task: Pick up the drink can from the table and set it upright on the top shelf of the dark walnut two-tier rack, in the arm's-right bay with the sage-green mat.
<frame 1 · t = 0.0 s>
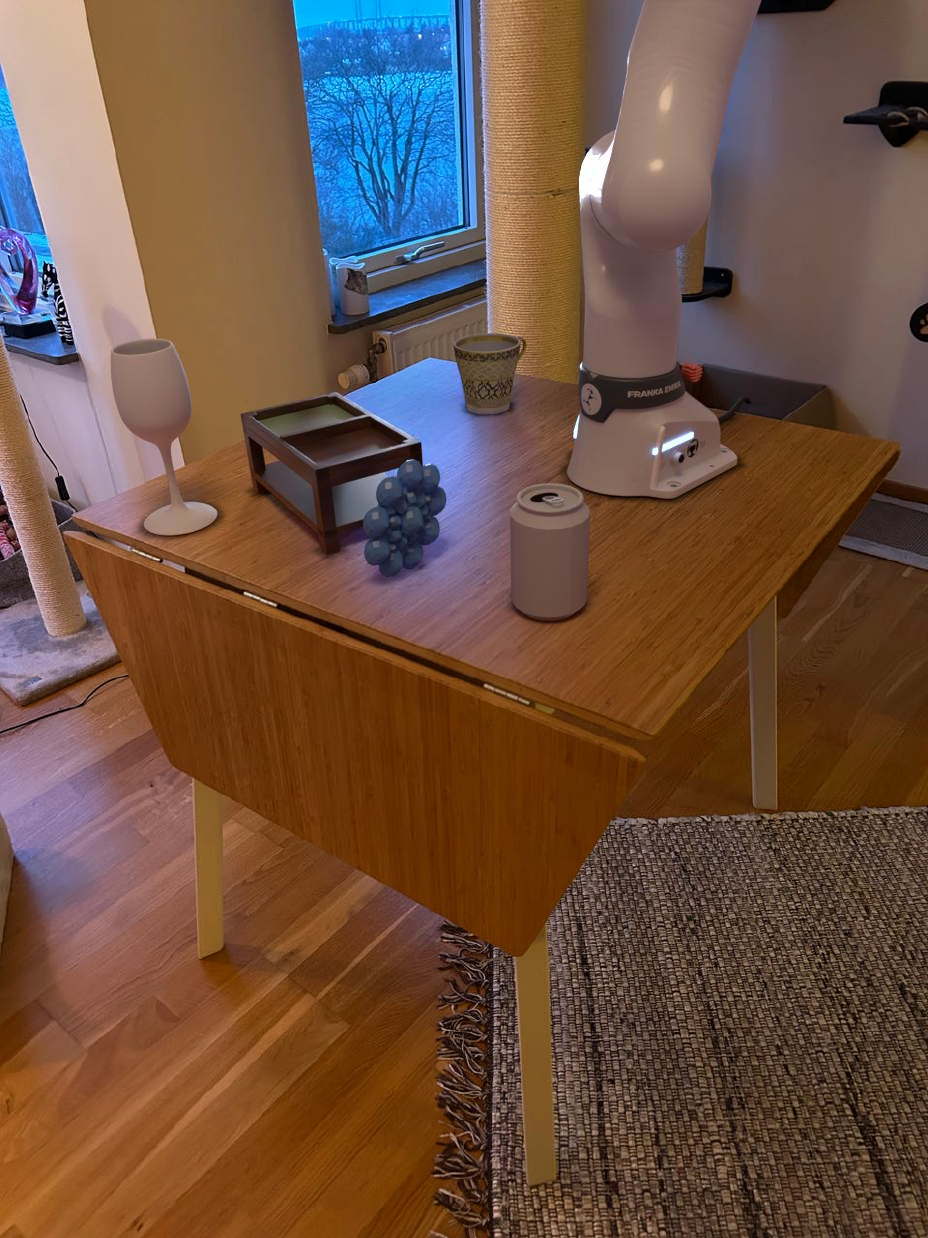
can: (548, 606, 91), on the table
rack: (336, 506, 113), on the table
grapes: (403, 567, 99), on the table
ceramic cup: (495, 406, 142), on the table
wineglass: (181, 521, 111), on the table
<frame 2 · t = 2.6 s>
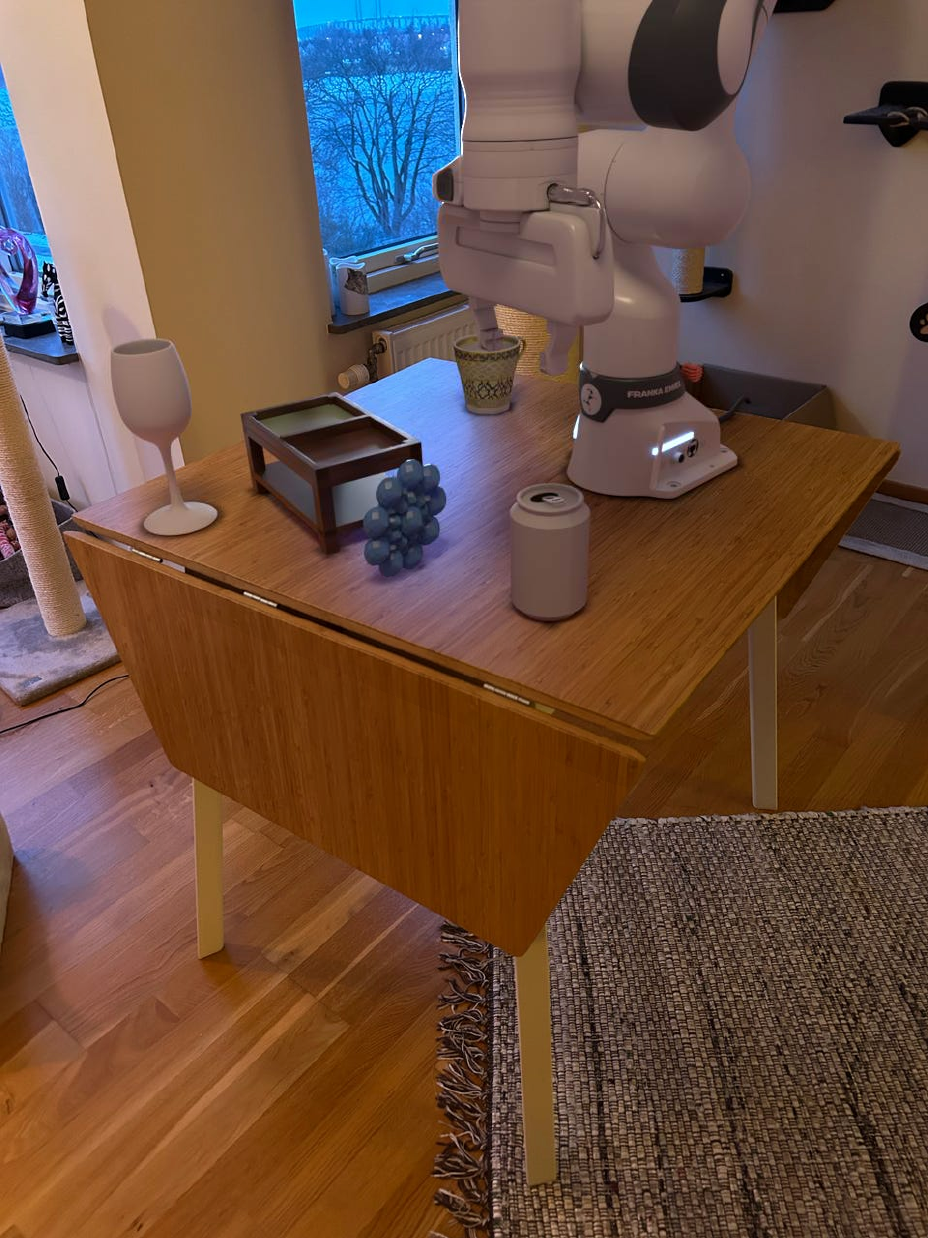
hand: (520, 361, 77), 25 cm above the table, tool pointing down, fingers open, 8 cm apart
nothing on the table moved.
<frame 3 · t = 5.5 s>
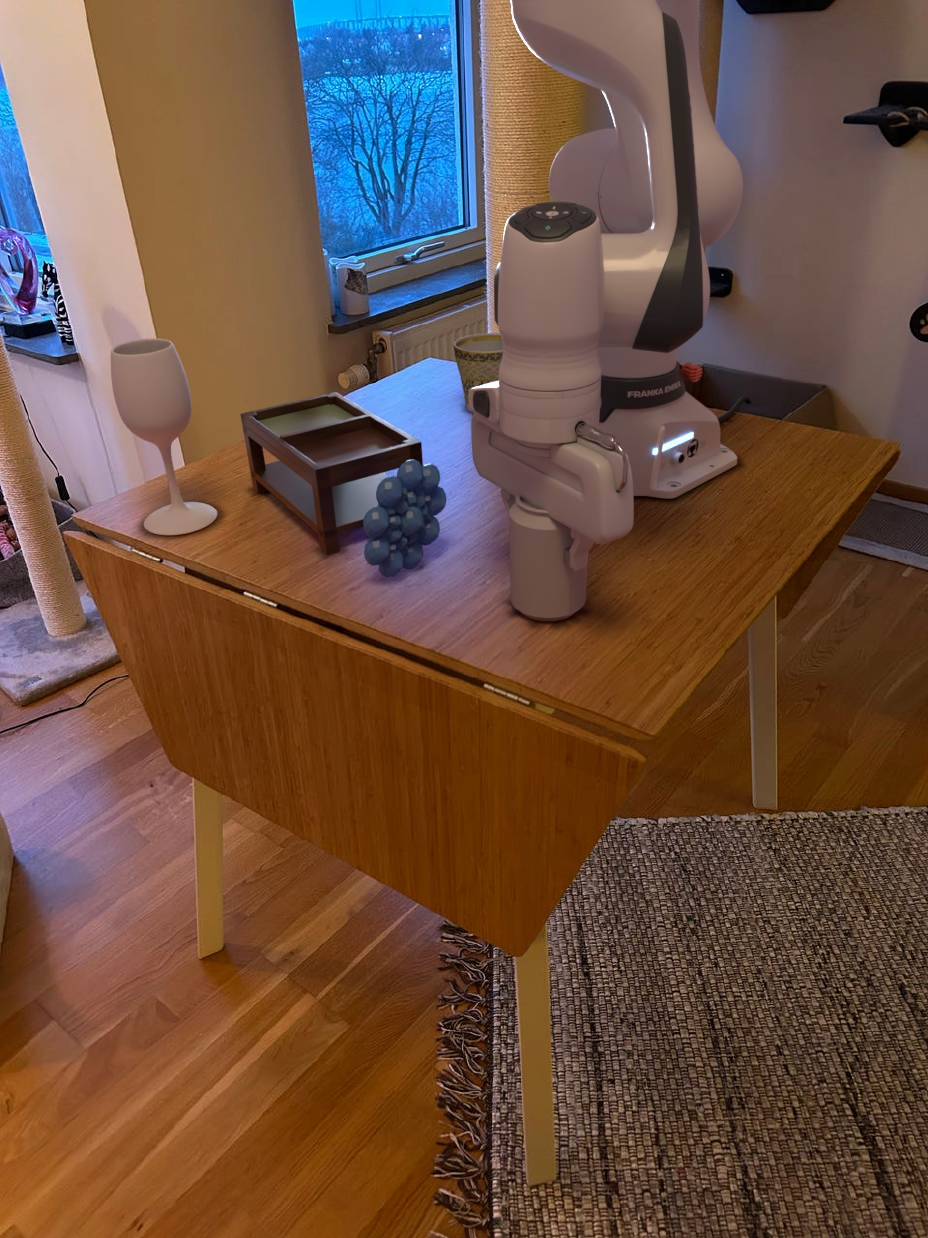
hand: (546, 548, 88), 6 cm above the table, tool pointing down, fingers closed on can, 7 cm apart
can: (547, 607, 91), on the table, touching gripper
everything else where it was.
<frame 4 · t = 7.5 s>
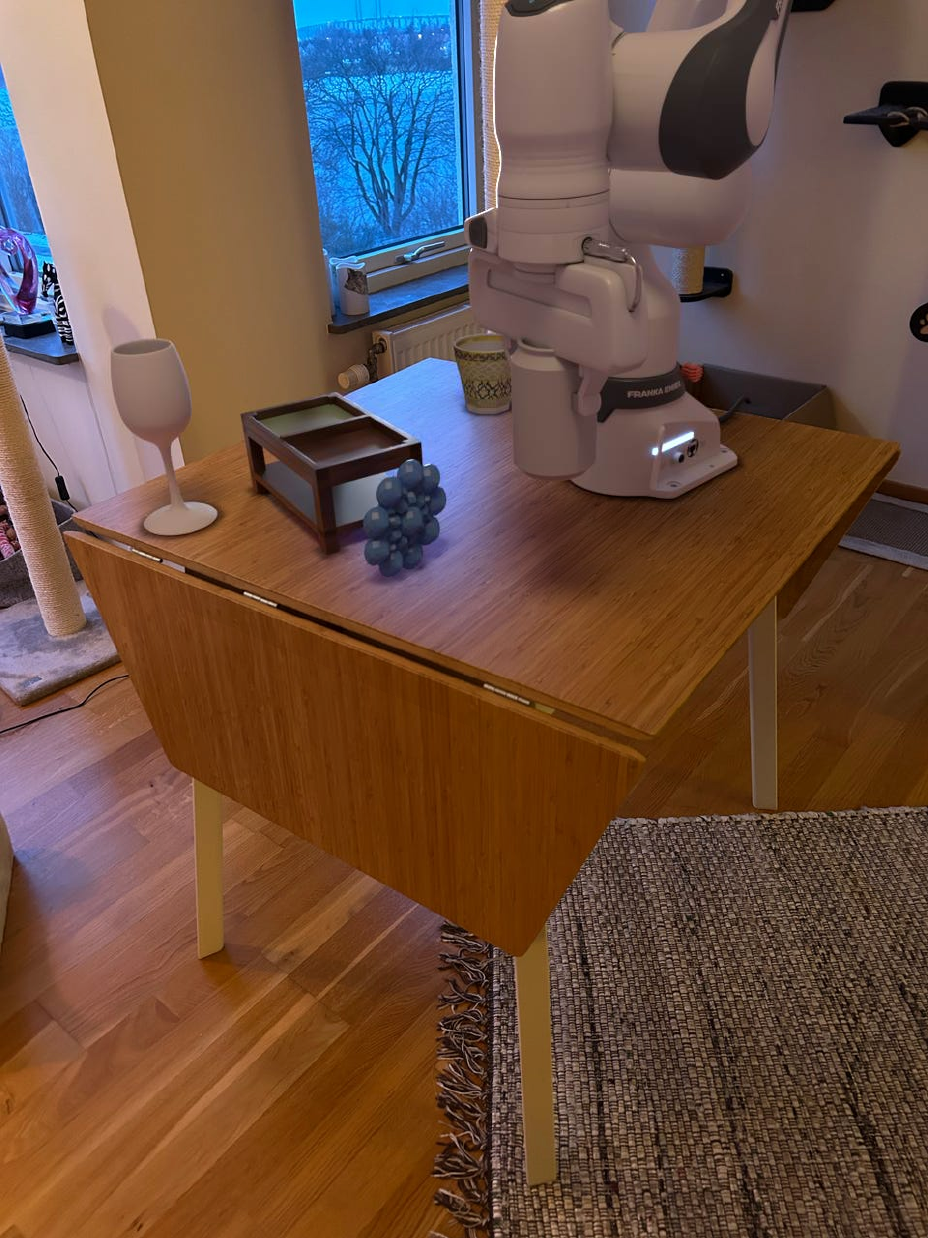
hand: (552, 398, 80), 21 cm above the table, tool pointing down, fingers closed on can, 7 cm apart
can: (554, 469, 84), point 14 cm above the table, touching gripper
everything else where it was.
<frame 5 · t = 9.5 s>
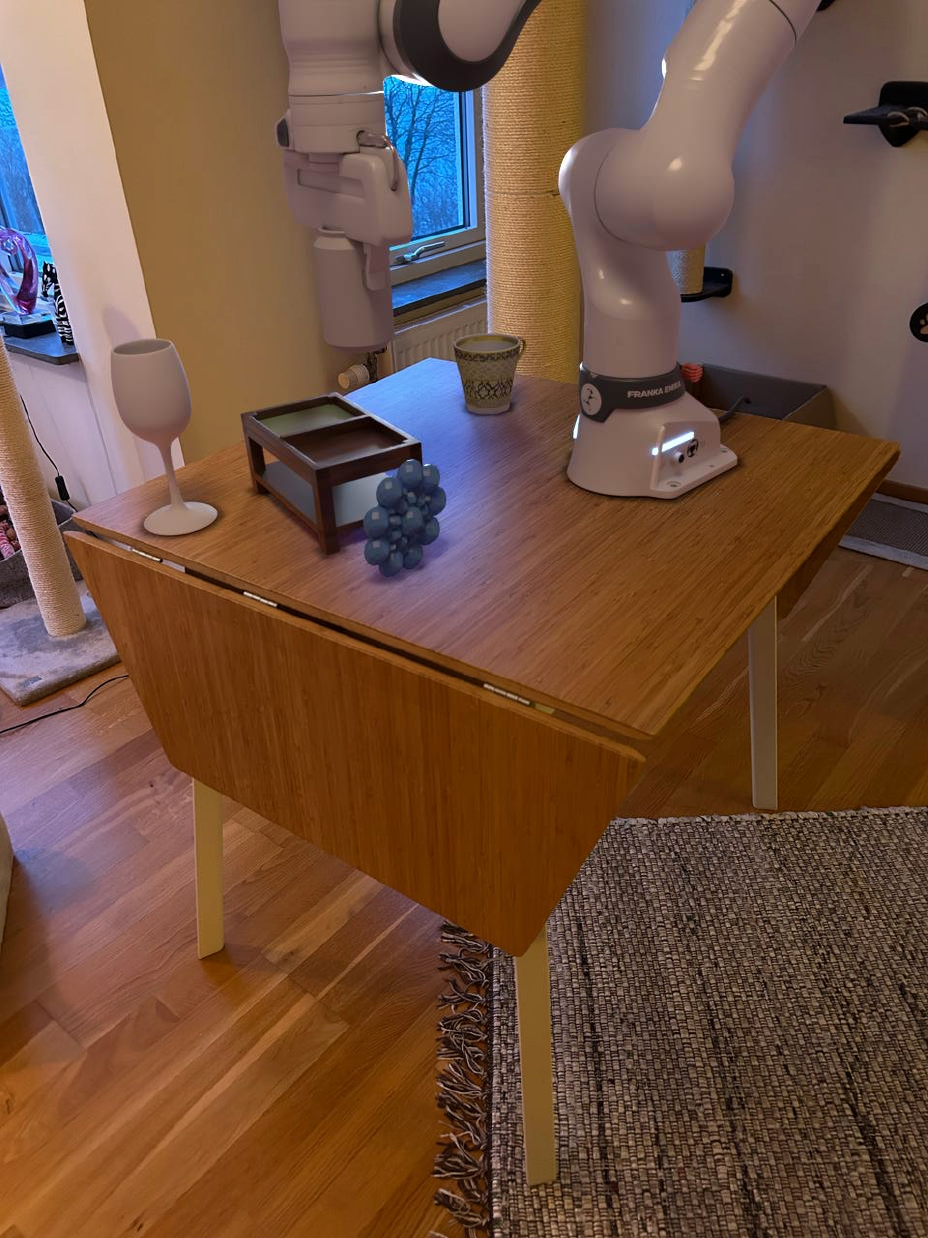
hand: (353, 281, 94), 27 cm above the table, tool pointing down, fingers closed on can, 7 cm apart
can: (360, 346, 97), point 21 cm above the table, touching gripper
everything else where it was.
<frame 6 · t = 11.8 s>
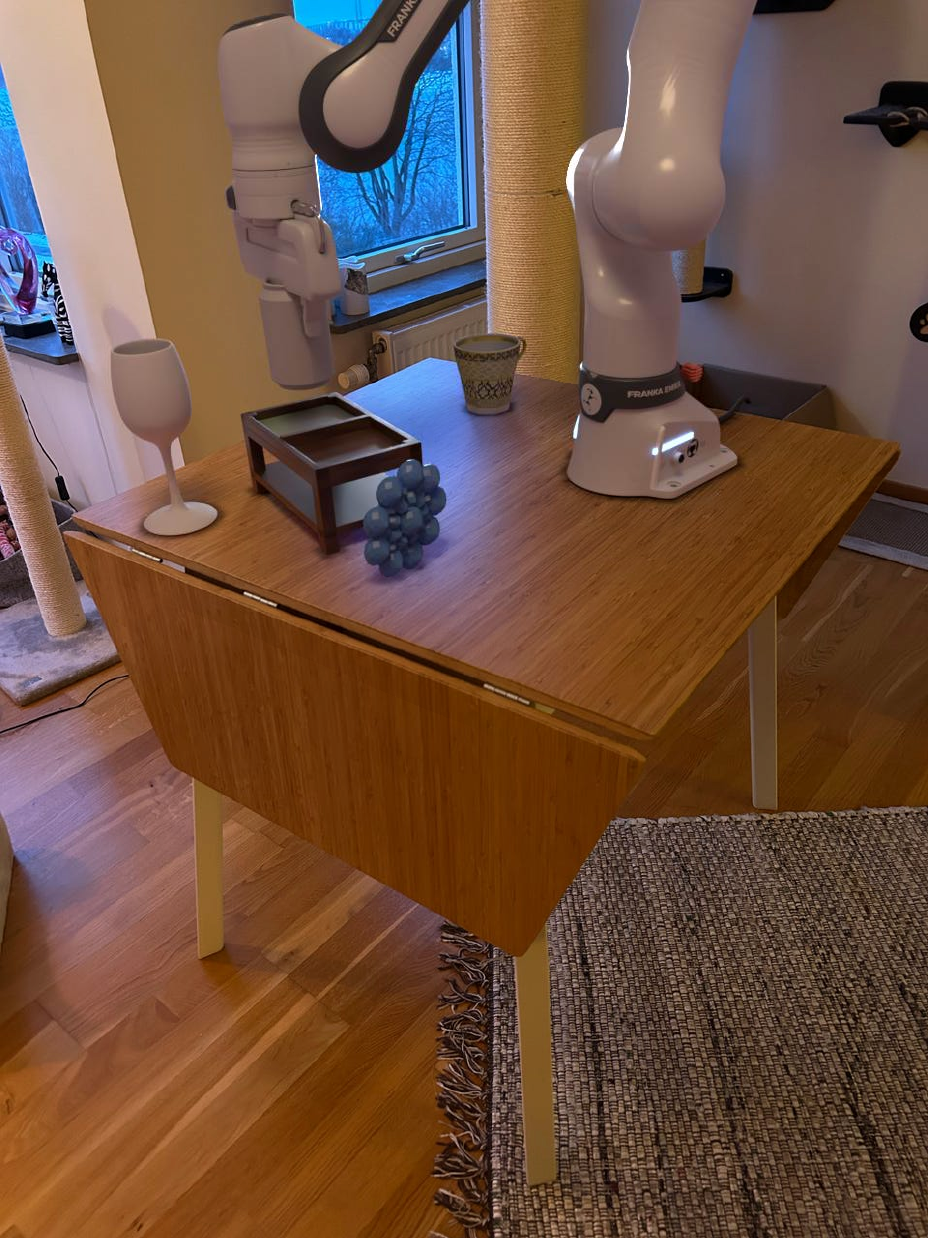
hand: (296, 326, 106), 21 cm above the table, tool pointing down, fingers closed on can, 7 cm apart
can: (304, 383, 109), point 14 cm above the table, touching gripper
everything else where it was.
when the fingers open (16 cm above the table, at t = 13.7 s): can stays where it is, resting on rack.
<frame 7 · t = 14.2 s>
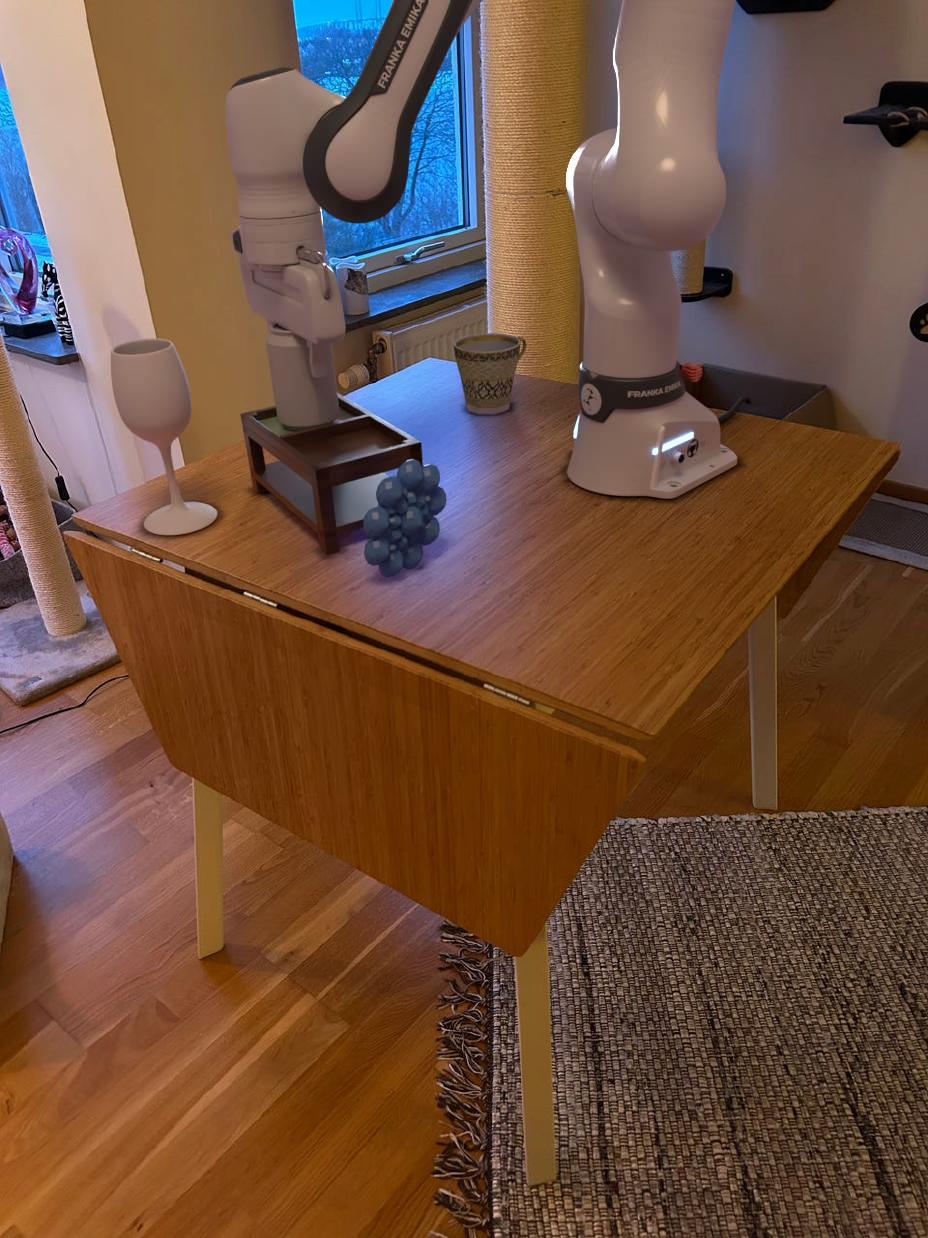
hand: (301, 365, 108), 16 cm above the table, tool pointing down, fingers open, 8 cm apart
can: (309, 423, 112), point 9 cm above the table, touching rack
everything else where it was.
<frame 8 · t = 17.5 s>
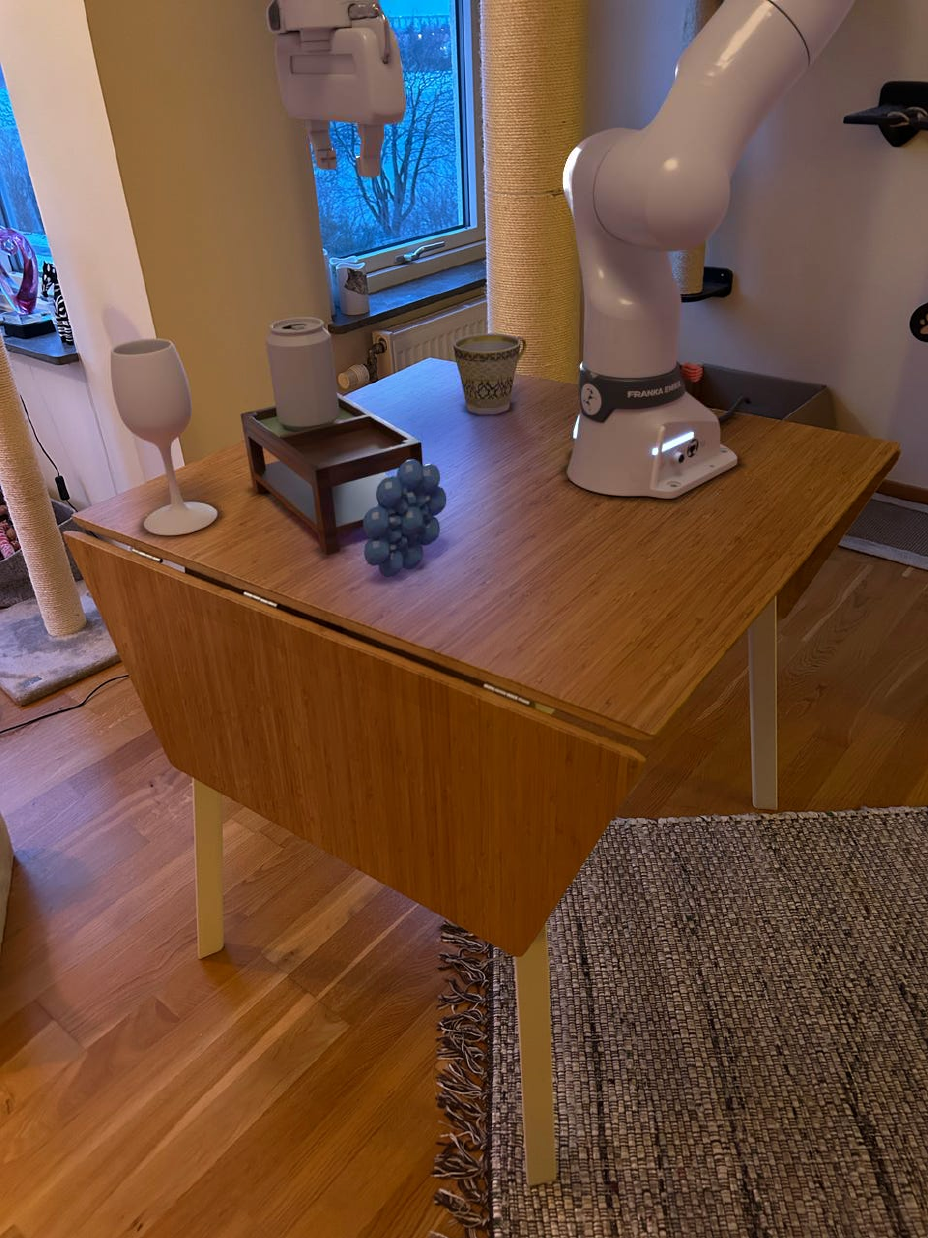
hand: (347, 172, 92), 37 cm above the table, tool pointing down, fingers open, 8 cm apart
nothing on the table moved.
at the end: can inside the target area on the rack (0.1 cm from its centre), point 9.0 cm above the rack's base; can tilted 0°; the gripper is holding nothing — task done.
